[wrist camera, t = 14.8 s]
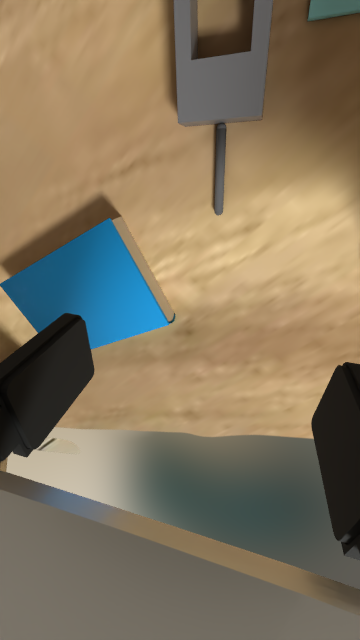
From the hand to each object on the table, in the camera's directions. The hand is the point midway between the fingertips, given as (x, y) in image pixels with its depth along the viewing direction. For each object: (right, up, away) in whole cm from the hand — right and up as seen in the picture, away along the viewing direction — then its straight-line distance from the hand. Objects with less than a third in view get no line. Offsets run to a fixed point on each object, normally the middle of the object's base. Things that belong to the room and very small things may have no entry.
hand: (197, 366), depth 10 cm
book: (-15, +6, +34) cm, 38 cm away
